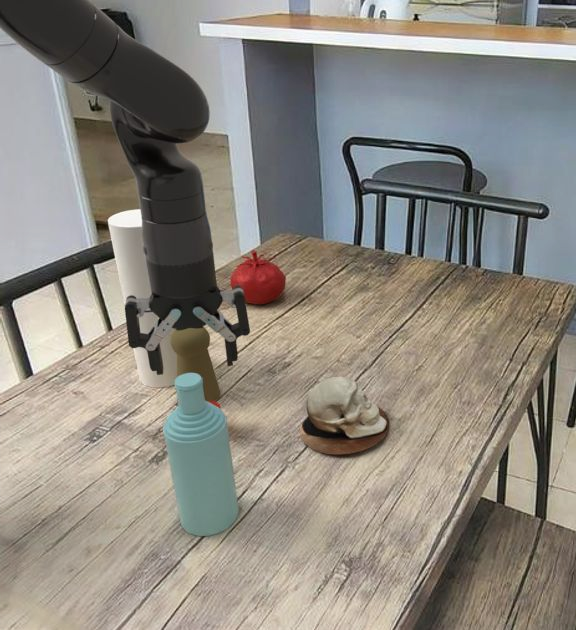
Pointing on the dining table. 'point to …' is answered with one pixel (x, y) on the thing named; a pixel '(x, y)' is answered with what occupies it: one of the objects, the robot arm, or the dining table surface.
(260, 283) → the pomegranate
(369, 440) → the skull
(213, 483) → the bottle
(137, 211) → the cylindrical container
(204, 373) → the brown pawn
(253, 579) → the dining table surface
